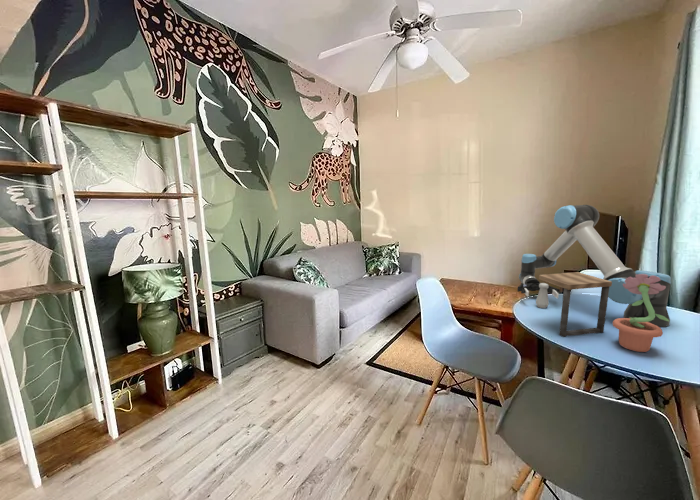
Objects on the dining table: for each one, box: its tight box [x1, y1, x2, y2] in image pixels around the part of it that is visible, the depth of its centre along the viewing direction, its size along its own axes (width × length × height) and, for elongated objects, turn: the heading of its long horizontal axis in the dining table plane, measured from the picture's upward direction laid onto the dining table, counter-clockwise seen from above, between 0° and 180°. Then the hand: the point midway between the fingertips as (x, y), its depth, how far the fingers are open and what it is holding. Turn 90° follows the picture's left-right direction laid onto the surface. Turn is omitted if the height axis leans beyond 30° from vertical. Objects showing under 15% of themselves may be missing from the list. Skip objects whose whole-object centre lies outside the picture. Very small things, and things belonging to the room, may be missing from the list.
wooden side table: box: [538, 271, 612, 338], centre depth 131 cm, size 20×16×23 cm
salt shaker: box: [535, 282, 550, 309], centre depth 155 cm, size 6×6×13 cm
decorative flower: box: [612, 274, 671, 353], centre depth 111 cm, size 15×14×30 cm
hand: (542, 295), depth 155 cm, fingers open, 13 cm apart
